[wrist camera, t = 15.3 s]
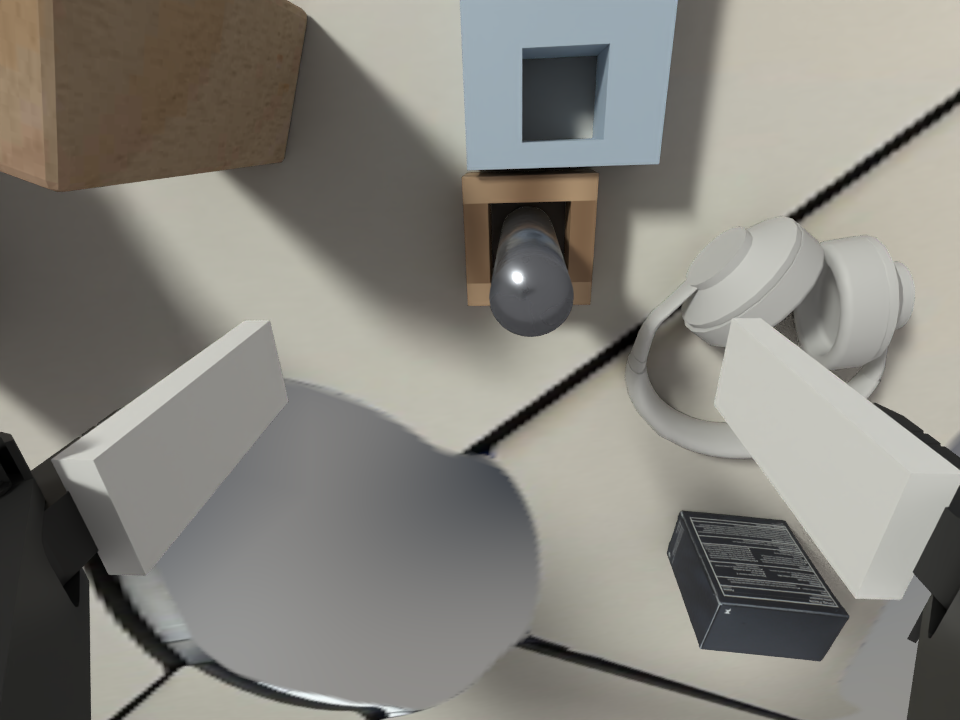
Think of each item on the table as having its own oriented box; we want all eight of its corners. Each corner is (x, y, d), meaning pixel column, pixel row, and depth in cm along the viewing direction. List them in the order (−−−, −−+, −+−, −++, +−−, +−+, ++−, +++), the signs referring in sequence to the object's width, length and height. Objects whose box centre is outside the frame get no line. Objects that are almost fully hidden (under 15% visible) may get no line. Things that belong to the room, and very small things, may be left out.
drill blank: (501, 258, 38) (490, 336, 24) (500, 206, 37) (488, 256, 22) (552, 258, 38) (571, 336, 24) (554, 205, 36) (575, 255, 22)
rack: (472, 289, 40) (467, 305, 36) (467, 172, 36) (461, 177, 32) (583, 288, 39) (590, 304, 35) (590, 168, 35) (598, 173, 31)
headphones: (682, 182, 35) (594, 397, 46) (716, 215, 28) (603, 456, 39) (928, 237, 35) (781, 437, 46) (1018, 282, 28) (821, 502, 40)
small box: (663, 555, 51) (696, 653, 41) (678, 508, 48) (717, 601, 38) (766, 566, 50) (823, 667, 41) (787, 519, 47) (853, 615, 38)
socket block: (473, 165, 36) (467, 170, 31) (461, -172, 28) (450, -230, 23) (640, 159, 35) (659, 164, 30) (675, -191, 27) (707, -255, 22)
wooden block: (311, 13, 32) (48, -135, 14) (285, 164, 36) (59, 198, 18) (162, -49, 31) (-318, -290, 13) (154, 113, 36) (-219, 97, 18)
